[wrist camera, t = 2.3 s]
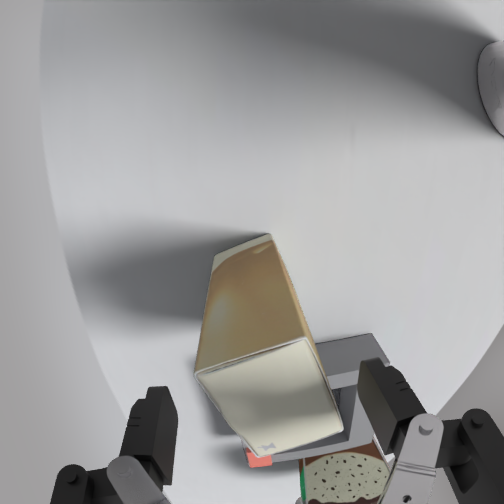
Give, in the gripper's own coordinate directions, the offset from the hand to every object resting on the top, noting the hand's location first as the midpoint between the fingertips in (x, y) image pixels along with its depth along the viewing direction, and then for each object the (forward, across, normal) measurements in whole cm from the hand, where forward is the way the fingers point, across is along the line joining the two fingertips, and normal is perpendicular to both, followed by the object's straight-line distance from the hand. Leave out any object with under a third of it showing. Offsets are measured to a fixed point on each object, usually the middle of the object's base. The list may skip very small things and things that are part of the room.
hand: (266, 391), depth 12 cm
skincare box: (+11, -1, 0) cm, 11 cm away
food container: (+11, -7, +24) cm, 27 cm away
